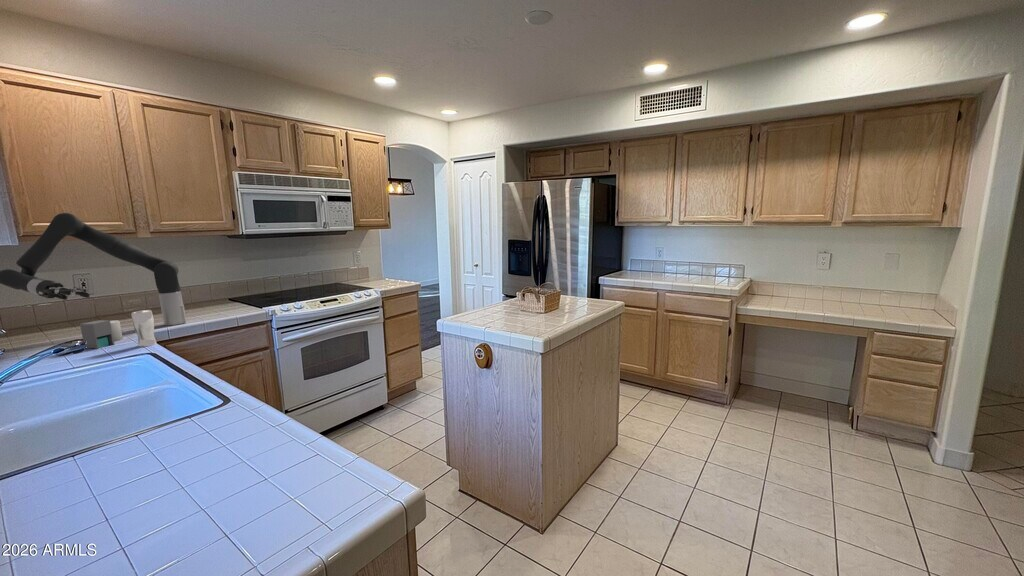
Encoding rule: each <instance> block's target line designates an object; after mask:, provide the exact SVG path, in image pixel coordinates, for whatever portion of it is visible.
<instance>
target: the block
mask: <svg viewBox="0 0 1024 576" xmlns="http://www.w3.org/2000/svg"><path fill="white" fill-rule="evenodd" d="M97 341H98V346H99V349H101V348H105V347H108V345H109V344H108V339H107V337H97ZM104 346H105V347H104ZM109 346H110V345H109ZM100 347H101V348H100Z"/></svg>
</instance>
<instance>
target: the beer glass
mask: <svg viewBox="0 0 1024 576" xmlns="http://www.w3.org/2000/svg"><path fill="white" fill-rule="evenodd" d="M153 315H154V314H153V310H151V309H143V310H136V311H132V312H131V322H132V326H133V329H134V331H135V334H136V336H137V339H138V340H137V341H138V342H137V344H138V345H137V346H138V347H140V348H142V347H143V348H144V347H151V346H154V345H156V344H157V339H156V338H155V319H154V316H153Z"/></svg>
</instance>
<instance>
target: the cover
mask: <svg viewBox="0 0 1024 576" xmlns="http://www.w3.org/2000/svg"><path fill="white" fill-rule="evenodd" d="M110 321H111V320H103V319H102V320H99V319H98V320H93V321H90V322H89V321H88V322H83V323H80V324H79V327H80V330H81V336H82V341H83V340H85V341H87V344H85V346H84V348H85V347H87V348H95V349H94V350H99V349H100V348H99V346H98V341H97V337H107V339H108V344H109V346H114V345H115V342H114V339H113V334H112V329H111V324H110Z"/></svg>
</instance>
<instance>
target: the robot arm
mask: <svg viewBox="0 0 1024 576" xmlns="http://www.w3.org/2000/svg"><path fill="white" fill-rule="evenodd" d="M67 236H69V237H73V238H75V239H77V240H80V241H83V242H86V243H87V244H89V245H92V246H93V247H95V248H96V249H98V250H100V251H101V252H104V253H106V254H108V255H110V256H112V257H114V258H116V259H119V260H121V261H124V262H127V263H130V264H134V265H137V266H141V267H142V268H145V269H147V270H149V271H151V272H152V273H153V275H154V280H155V281H154V282H155V285H156V289H157V292H158V298H159V304H160V309H161V315H162V321H163V325H164V326H176V325H181V324H186V323H187V318H186V317H187V316H186V312H185V305H184V302H183V301H184V300H183V295H182V288H181V285H180V284H179V278H178V274H179V267H178V266H177V264H175V263H173V262H172V261H168V260H167V259H166V260H165V259H163V258H160V257H157V256H156V255H153V254H151V253H149V252H147V251H146V250H144V249H142V248H141V247H138V246H136V245H134V244H133V243H131V242H129V241H127V240H124V239H123V238H121V237H119V236H115V235H112V234H109V233H106V232H104V231H100V230H99V229H98V230H97V229H96V228H94V227H92V226H90V225H88V224H87V223H85V222H84V221H82V220H80V219H79V217H78V216H76V215H74V214H72V213H69V212H62V213H58V214H57V215H54V216H53V218H52V220H51V222H50V223H49V224H48V225H47V228H46V229H45V230H44V232H43V233H42V234H41V236H40V237H39V238H38V239H37V240H36V241H35V242H34V243H33V244H32V245H31V246H30V247H29V248H28V249H27V250H26V251H25V252H24V253H23V254H22V255H21V256H20V257H19V258H18V259H17V260H16V262H15V264H16V265H17V266H18V267H19V268H21V271H17V270H14V269H8V268H7V269H1V270H0V285H2V286H5V287H8V288H11V289H14V290H22V291H24V292H28V293H31V294H34V295H37V296H40V297H41V298H42V297H43V298H46V299H60V300H64V301H66V300H68V297H73V298H74V297H76V296H77V297H82V298H86V299H88V298H89V299H90V292H87V290H88V289H83V288H81V287H75V286H73V287H66V286H64V285H63V284H62V283H61V282H59V281H54V280H51V279H48V278H42V277H39V276H38V277H37V276H36V273H37V272H38V269H40V267H41V266H42V265H44V263H45V262H46V261H47V260H48V259H49V258H50V256H51V255H52V253H53V252H54V250H55V248H56V247H57V246H58V244H59V243H60V242H61V241H62V240H63V239H64V238H65V237H67Z"/></svg>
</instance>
